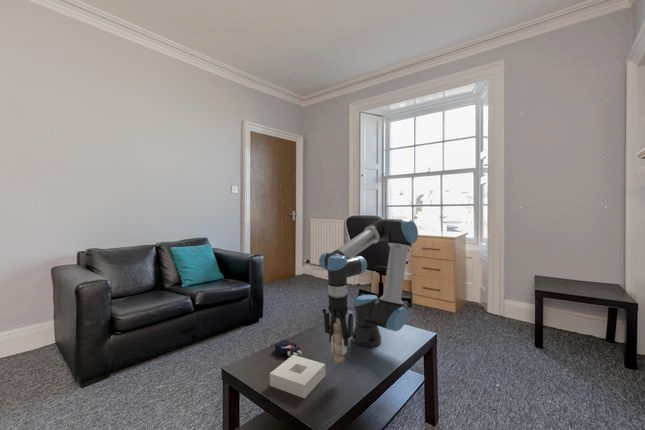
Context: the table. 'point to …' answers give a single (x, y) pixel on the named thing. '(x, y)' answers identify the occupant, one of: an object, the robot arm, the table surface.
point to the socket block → (297, 376)
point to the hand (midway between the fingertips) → (339, 351)
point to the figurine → (287, 348)
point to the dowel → (338, 343)
